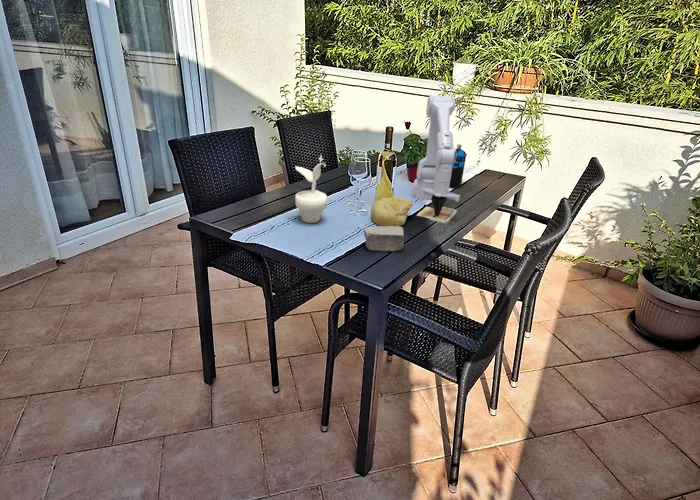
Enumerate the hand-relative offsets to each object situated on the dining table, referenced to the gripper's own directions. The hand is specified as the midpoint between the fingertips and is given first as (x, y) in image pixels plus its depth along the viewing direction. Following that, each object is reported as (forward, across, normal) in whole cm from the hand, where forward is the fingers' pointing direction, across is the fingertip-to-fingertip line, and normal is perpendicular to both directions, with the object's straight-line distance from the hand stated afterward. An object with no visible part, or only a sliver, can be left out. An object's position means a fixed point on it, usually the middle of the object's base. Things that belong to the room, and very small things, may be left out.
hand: (437, 214), depth 174 cm
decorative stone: (+3, -7, -33) cm, 34 cm away
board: (+3, -4, +4) cm, 6 cm away
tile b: (+2, +2, 0) cm, 3 cm away
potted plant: (+3, -40, -28) cm, 49 cm away
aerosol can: (+3, -8, +48) cm, 49 cm away
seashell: (+3, -14, -12) cm, 19 cm away
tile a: (+2, +2, +5) cm, 6 cm away
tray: (+3, +2, +4) cm, 5 cm away
